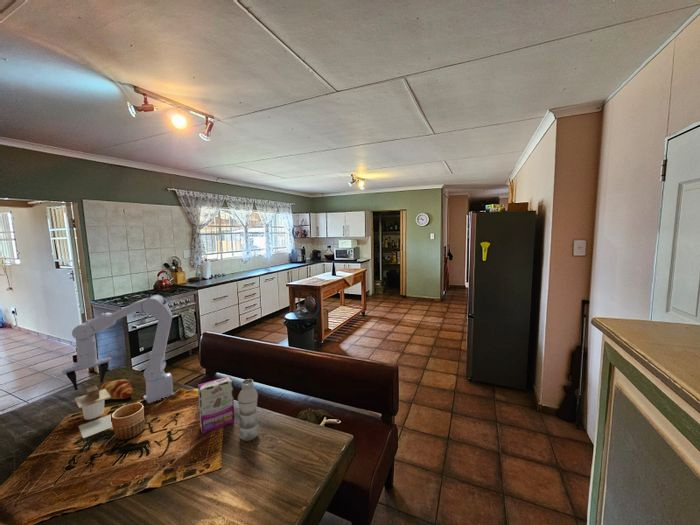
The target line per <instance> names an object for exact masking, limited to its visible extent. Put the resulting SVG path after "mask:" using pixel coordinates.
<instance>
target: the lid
mask: <svg viewBox="0 0 700 525" xmlns="http://www.w3.org/2000/svg"><path fill="white" fill-rule="evenodd" d="M109 398H111V396H110V395H109V393H108V392H107V390H106V389H103V390H100V388H99V387H98V385H97V384H95V385H91V386H88V387H85V394H84V395H82V396H78V397H77V396H76V397H75V398H74V400H75V402H76V404H77V407H78V409H82V407H85V406H88V405H91V404H94V403H97V402H100V401H103V400H110V399H109Z"/></svg>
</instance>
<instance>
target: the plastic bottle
mask: <svg viewBox="0 0 700 525" xmlns="http://www.w3.org/2000/svg"><path fill="white" fill-rule="evenodd" d="M254 385H255V384H254V379H251V378H247V379H244V380H242V382H241V390H240V392H239V393H238V395H237V403H238V408H239V417H240V418H239V426H238V436H239V438H240V439H241V440H242V441H244V442H245V441H246V442H249V441H252V440H254V439H255V438H257V437H258V435H259V432H260V425H259V422H258V421H259V420H258V414H257V409H258V399H259V398H258V397H259V393H258V391H257V390H256V389H255V388H254Z"/></svg>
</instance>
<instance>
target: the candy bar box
mask: <svg viewBox="0 0 700 525" xmlns="http://www.w3.org/2000/svg"><path fill="white" fill-rule="evenodd" d="M197 392H198V395H197V396H198V409H199V410H198V411H199V425H200V427H201V428H200V430H201V434H202V435H204V434H206V433H209V431H210V432H212V431H215V430H217V429H221V428H223V427H225V426H228V425H231V424H234V423H235V406H234V405H235V404H234V402H235V400H234V381H233V379H232V378H231V376H230V375H229V376H225V377H222V378H219V379H214V380H210V381H206V382H203V383H200V384H197Z"/></svg>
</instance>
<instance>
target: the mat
mask: <svg viewBox="0 0 700 525" xmlns="http://www.w3.org/2000/svg"><path fill="white" fill-rule="evenodd" d="M111 414H112V413H111ZM111 414H108V415H104V416H102V417H100V418H97V419H94V420H90V421H88V422H86V423H83V424H80V425H78V426H77V427H78V429H79V432H80V435H81V437H82V439H85V438H88V437H91V436H93V435H95V434H98V433H101V432H103V431H107V430H108V429H111V428H113V427H112V422H111Z"/></svg>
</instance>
